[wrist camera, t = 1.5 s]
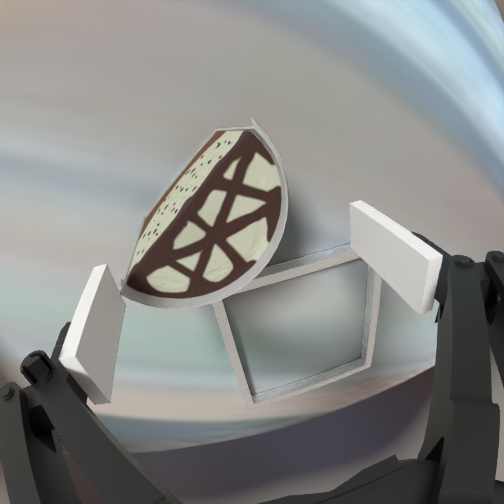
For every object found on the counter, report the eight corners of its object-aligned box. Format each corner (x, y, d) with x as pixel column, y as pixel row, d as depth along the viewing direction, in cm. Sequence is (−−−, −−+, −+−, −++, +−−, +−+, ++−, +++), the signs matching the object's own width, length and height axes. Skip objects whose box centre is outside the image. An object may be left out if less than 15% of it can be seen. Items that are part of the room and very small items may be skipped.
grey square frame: (245, 400, 38) (247, 409, 37) (206, 282, 28) (208, 291, 27) (365, 359, 40) (370, 366, 39) (376, 235, 31) (384, 241, 29)
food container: (190, 269, 27) (200, 346, 19) (133, 231, 25) (115, 300, 16) (283, 163, 25) (341, 198, 16) (229, 114, 22) (262, 119, 13)
